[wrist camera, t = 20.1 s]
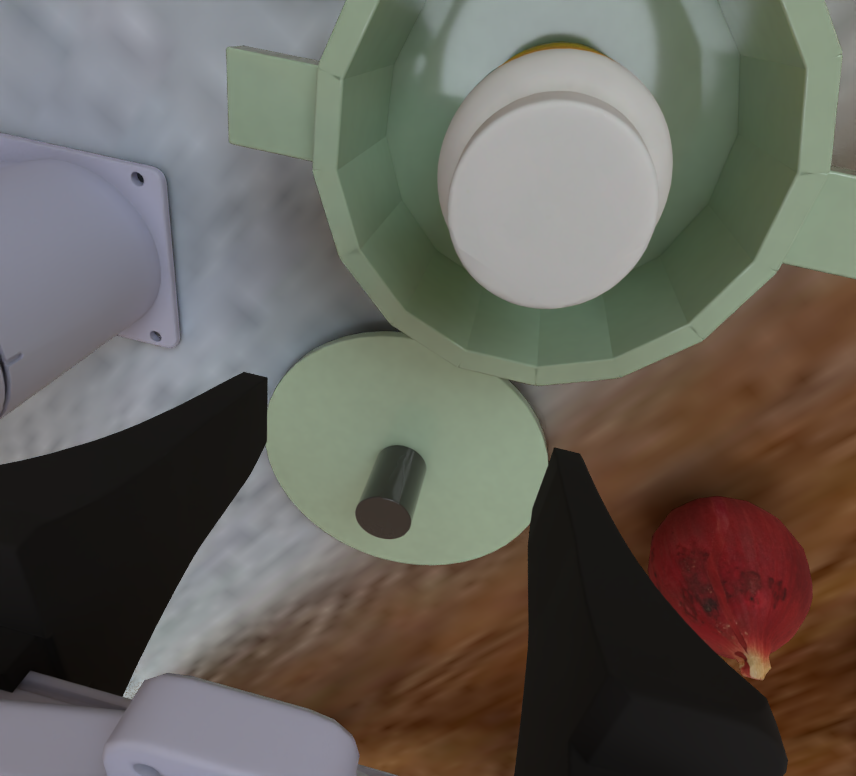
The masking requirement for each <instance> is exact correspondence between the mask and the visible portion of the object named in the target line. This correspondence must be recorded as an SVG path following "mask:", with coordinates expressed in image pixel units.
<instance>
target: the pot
mask: <svg viewBox="0 0 856 776" xmlns="http://www.w3.org/2000/svg"><path fill="white" fill-rule="evenodd" d="M558 41H564V42H574V43H579V44H583V45H587V46H590V47H592V48H594V49H596V50H598V51H600V52H601V53H603V54H605V55H606V56H608V57H609V58H611V59H612V60H614V61H616V62H617V63H619V64H621V65H622V66H623V67H625V68H626V69H628V70H629V71H630V72H632V73H633V74H634V75H635V76H636V77H637V78H638V79H639V80H640V81H641V82H642V83H643V84H644V85H645V86H646V87H647V89H648V90H649V91H650V92H651V94H652V95H653V97H654V98H655V100H656V102H657V103H658V105H659V107H660V109H661V111H662V113H663V115H664V118H665V121H666V123H667V127H668V130H669V134H670V139H671V144H672V154H673V169H672V180H671V186H670V190H669V194H668V198H667V202H666V204H665V207H664V210H663V212H662V215H661V217H660V219H659V221H658V223H657V225H656V226H655V229H654V232H653V234H652V237H651V239H650V241H649V244H648V246H647V248H646V250H645V252H644V253H643V255H642V257H641V258H640V260H639V261H638V262H637V264H636V265H635V266H634V267H633V269H632V270H631V271H630V272H629V273H628V274H627V275H626V276H625V277H624V278H623V279H622V280H621V281H620V282H619V283H617V284H616V285H615V286H614V287H612V288H611V289H610V290H608V291H606V292H605V293H603V294H601V295H599V296H598V297H596V298H594V299H591V300H589V301H587V302H584V303H581V304H578V305H574V306H569V307H564V308H557V309H535V308H528V307H524V306H520V305H516V304H513V303H510V302H508V301H506V300H503V299H501V298H499V297H498V296H496V295H494V294H492V293H491V292H489V291H488V290H486V289H485V288H484V287H483V286H481V285H480V284H479V283H478V282H477V281H476V280H475V279H474V278H473V277H472V276H471V275H470V274H469V272H468V271H467V270H466V268H465V267H464V266H463V264H462V262H461V261H460V259H459V257H458V255H457V253H456V251H455V248H454V246H453V243H452V240H451V237H450V232H449V229H448V227H447V224H446V222H445V219H444V216H443V214H442V210H441V206H440V202H439V195H438V184H437V172H438V162H439V156H440V150H441V147H442V143H443V140H444V137H445V134H446V132H447V129H448V127H449V125H450V122H451V120H452V118H453V116H454V115H455V113H456V111H457V110H458V108H459V107H460V105H461V104H462V102H463V101H464V99H465V98H466V97H467V95H468V94H469V93H470V92H471V91H472V90H473V89H474V87H475V86H476V85H477V84H478V83H479V82H480V81H481V80H482V79H483V78H484V77H485V76H487V75H488V74H489V73H490V72H491V71H492V70H494V69H496V68H497V67H499V66H501V65H502V64H503V63H505V62H506V61H508V60H509V59H510V58H512V57H513V56H515V55H516V54H518V53H520V52H522V51H524V50H526V49H528V48H530V47H533V46H536V45H539V44H543V43H548V42H558ZM842 57H843V56H842V49H841V46H840V43H839V40H838V37H837V35H836V32H835V29H834V26H833V23H832V20H831V17H830V15H829V12H828V9H827V6H826V3H825V0H346V1H345V4H344V6H343V8H342V11H341V13H340V15H339V18H338V20H337V22H336V24H335V27H334V29H333V31H332V34H331V36H330V38H329V41H328V43H327V45H326V48H325V50H324V52H323V55H322V57H321V59H320V61H317V60H312V59H307V58H302V57H297V56H293V55H288V54H283V53H278V52H273V51H268V50H263V49H258V48H253V47H249V46H244V45H243V46H233V47H227V49H226V60H227V95H228V130H229V143H230V144H233V145H238V146H243V147H247V148H252V149H256V150H261V151H266V152H270V153H275V154H279V155H284V156H289V157H293V158H298V159H303V160H307V161H312V162H313V164H312V168H313V171H312V172H313V176H314V179H315V182H316V185H317V188H318V192H319V195H320V198H321V201H322V204H323V208H324V211H325V214H326V217H327V220H328V223H329V227H330V230H331V233H332V236H333V239H334V243H335V246H336V249H337V252H338V255H339V257H340V260H341V261H342V262H343V264H344V265H345V266H346V267H347V269H348V270H349V271H350V273H351V274H352V275H353V277H354V278H355V279H356V281H357V282H358V283H359V284H360V286H361V287H362V288H363V290H364V291H365V292H366V294H367V295H368V296H369V297H370V299H371V300H372V301H373V303H374V304H375V305H376V307H377V308H378V309H379V311H380V312H381V313H382V314H383V316H384V317H385V318H386V320H387V321H388V322H389V324H391V325H392V326H394V327H395V328H397V329H398V330H400V331H401V332H403V333H404V334H406V335H408V336H409V337H411V338H412V339H414V340H415V341H417V342H418V343H420V344H421V345H423V346H425V347H426V348H428V349H429V350H431V351H432V352H434V353H435V354H437V355H439V356H440V357H442V358H443V359H445V360H446V361H448V362H449V363H451V364H453V365H454V366H456V367H459V368H462V369H466V370H470V371H474V372H479V373H483V374H487V375H491V376H496V377H500V378H504V379H508V380H512V381H517V382H521V383H525V384H529V385H536V386H544V385H554V384H564V383H575V382H585V381H595V380H605V379H616V378H619V377H620V378H621V377H623V376H625V375H628V374H630V373H632V372H634V371H637V370H639V369H641V368H643V367H646V366H648V365H650V364H652V363H655V362H657V361H659V360H661V359H664V358H666V357H668V356H670V355H673V354H675V353H677V352H679V351H681V350H684V349H686V348H688V347H690V346H693V345H695V344H697V343H699V342H702V340H704V339H705V338H707V337H708V336H709V335H710V334H711V333H712V332H713V331H714V330H715V329H716V328H717V327H718V326H720V325H721V324H722V323H723V322H724V321H725V320H726V319H727V318H728V317H729V316H730V315H732V314H733V313H734V312H735V311H736V310H737V309H738V308H739V307H740V306H741V305H742V304H743V303H745V302H746V301H747V300H748V299H749V298H750V297H751V296H752V295H753V294H754V293H755V292H756V291H758V290H759V289H760V288H761V287H762V286H763V285H764V284H765V283H766V282H767V281H768V280H770V279H771V278H772V277H773V276H774V275H775V274H776V271H778V270H779V268H780V267H781V265H782V263H783V264H787V265H792V266H796V267H801V268H806V269H810V270H815V271H820V272H824V273H829V274H833V275H838V276H843V277H847V278H852V279H856V171H854V170H849V169H844V168H840V167H835V166H831V160H832V150H833V141H834V132H835V122H836V113H837V104H838V95H839V85H840V76H841V67H842Z"/></svg>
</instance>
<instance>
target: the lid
mask: <svg viewBox="0 0 856 776" xmlns="http://www.w3.org/2000/svg"><path fill="white" fill-rule="evenodd" d="M266 450H267V454H268V458H269V461H270V464H271V467H272V469H273V472H274V474H275V476H276V478H277V480H278V482H279V484H280V485H281V487H282V489H283V490H284V491H285V493H286V494H287V496H288V497H289V499H290V500H291V501H292V502H293V503H294V504H295V506H296V507H297V508H298V509H299V510H300V511H301V512H302V513H303V514H304V515H305V516H306V517H307V518H308V519H309V520H310V521H311V522H313V523H314V524H315V525H317V526H318V527H319V528H320V529H322V530H323V531H324V532H326V533H327V534H329V535H331V536H332V537H334V538H335V539H337V540H339V541H340V542H342V543H344V544H346V545H348V546H350V547H352V548H354V549H357V550H359V551H362V552H364V553H367V554H369V555H372V556H376V557H379V558H382V559H386V560H390V561H395V562H400V563H407V564H415V565H445V564H453V563H459V562H465V561H469V560H472V559H476V558H479V557H482V556H484V555H487V554H489V553H492V552H494V551H496V550H498V549H499V548H501V547H503V546H505V545H506V544H508V543H509V542H510V541H512V540H513V539H514V538H516V537H517V536H518V535H519V534H520V533H521V532H522V531H523V530H524V529H525V528H526V527H527V526H528V525H529V524H530V522H531V515H532V508H533V505H534V502H535V499H536V497H537V494H538V491H539V489H540V486H541V483H542V480H543V478H544V475H545V472H546V469H547V467H548V464H549V460H548V449H547V444H546V440H545V436H544V433H543V430H542V428H541V426H540V423H539V421H538V418H537V416H536V415H535V413H534V411H533V410H532V408H531V406H530V405H529V403H528V402H527V400H526V399H525V398H524V397H523V395H522V394H521V393H520V392H519V391H518V389H517V388H516V387H515V386H514V385H513V384H512V383H511V382H510V381H509V380H508V379H504V378H500V377H496V376H491V375H487V374H483V373H479V372H474V371H470V370H466V369H462V368H459V367H456V366H454V365H453V364H451V363H449V362H448V361H446V360H445V359H443V358H442V357H440V356H439V355H437V354H435V353H434V352H432V351H431V350H429V349H428V348H426V347H425V346H423V345H421V344H420V343H418V342H417V341H415V340H414V339H412V338H411V337H409V336H408V335H406V334H404V333H403V332H392V331H378V332H364V333H359V334H354V335H349V336H344V337H341V338H339V339H336V340H333V341H330V342H327V343H325V344H323V345H321V346H319V347H317V348H316V349H314V350H312V351H310V352H309V353H308V354H306V355H305V356H304V357H302V358H301V359H299V360H298V361H297V362H296V363H295V364H294V365H293V366H292V367H291V368H290V369H289V370H288V371H287V373H286V374H285V375H284V377H283V378H282V380H281V381H280V383H279V384H278V386H277V387H276V388H275V391H274V393H273V395H272V397H271V399H270V402H269V405H268V409H267V443H266Z"/></svg>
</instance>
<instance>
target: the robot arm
mask: <svg viewBox="0 0 856 776" xmlns="http://www.w3.org/2000/svg"><path fill="white" fill-rule="evenodd" d="M137 172H138V173H140V174H141V175H142V177H143V179H144V183H142V182H140V180H139V179H138V177H137ZM155 331H156V332H158V333H159V334H160V336H161V337H159V336H158V335H157V334H156V333H155ZM116 335H117V336H121V337H125V338H129V339H133V340H137V341H141V342H145V343H150V344H154V345H158V346H162V347H166V348H173V347H175V346H176V345H177V344H178V343H179V342H180V326H179V315H178V304H177V292H176V281H175V270H174V258H173V247H172V236H171V224H170V213H169V201H168V190H167V181H166V177H165V176H164V174H163V172H161V171H160V170H159V169H158V168H156V167H153V166H149V165H144V164H140V163H135V162H131V161H126V160H122V159H117V158H113V157H108V156H104V155H99V154H95V153H90V152H86V151H81V150H77V149H72V148H67V147H63V146H58V145H54V144H49V143H45V142H40V141H36V140H31V139H27V138H22V137H18V136H13V135H9V134H4V133H0V419H1V418H3V417H4V416H6V415H7V414H8V413H10V412H11V411H13V410H14V409H15V408H17V407H18V406H19V405H21V404H22V403H24V402H25V401H26V400H28V399H29V398H30V397H32V396H33V395H35V394H36V393H37V392H39V391H40V390H41V389H43V388H44V387H46V386H47V385H48V384H50V383H51V382H53V381H54V380H55V379H57V378H58V377H59V376H61V375H62V374H64V373H65V372H66V371H68V370H69V369H70V368H72V367H73V366H75V365H76V364H77V363H79V362H80V361H81V360H83V359H84V358H86V357H87V356H88V355H90V354H91V353H93V352H94V351H95V350H97V349H98V348H99V347H101V346H102V345H104V344H105V343H106V342H108V341H109V340H110V339H112V338H113V337H115V336H116ZM266 443H267V377H263V376H259V375H254V374H250V373H246V372H243V373H241V374H239V375H237V376H235V377H233V378H231V379H229V380H227V381H225V382H223V383H221V384H220V385H218V386H216V387H214V388H212V389H210V390H208V391H206V392H205V393H203V394H201V395H199V396H197V397H195V398H193V399H191V400H189V401H187V402H185V403H183V404H181V405H179V406H177V407H175V408H173V409H171V410H169V411H166V412H164V413H162V414H160V415H158V416H155V417H153V418H151V419H149V420H147V421H144V422H142V423H140V424H138V425H135V426H133V427H130V428H128V429H125V430H123V431H120V432H117V433H115V434H112V435H109V436H106V437H103V438H101V439H98V440H95V441H92V442H89V443H85V444H82V445H78V446H75V447H71V448H68V449H65V450H61V451H58V452H54V453H51V454H47V455H43V456H39V457H35V458H30V459H26V460H22V461H17V462H12V463H7V464H2V465H0V776H397V775H394V774H390V773H387V772H383V771H380V770H376V769H373V768H369V767H366V766H362V765H359V764H358V761H359V752H358V749H357V746H356V743H355V740H354V738H353V736H352V734H350V733H349V732H348V731H347V730H346V729H345V728H344V727H342V726H341V725H340V724H339V723H338V722H337V721H335V720H334V719H331V718H329V717H327V716H324V715H322V714H320V713H317V712H315V711H313V710H311V709H307V708H303V707H300V706H296V705H293V704H289V703H286V702H282V701H279V700H275V699H271V698H268V697H264V696H261V695H257V694H254V693H250V692H247V691H243V690H239V689H236V688H232V687H229V686H225V685H222V684H218V683H214V682H211V681H207V680H204V679H200V678H197V677H193V676H187V675H180V674H172V673H166V674H163V675H160V676H157V677H154V678H150V679H147V680H144V682H143V683H142V685H141V687H140V688H139V690H138V692H137V693H136V695H135V696H134V698H133V700H131V699H128V698H124V697H122V696H123V694H124V692H125V690H126V688H127V686H128V683H129V681H130V679H131V677H132V675H133V672H134V670H135V668H136V666H137V664H138V662H139V660H140V658H141V656H142V654H143V652H144V650H145V648H146V646H147V644H148V642H149V640H150V638H151V636H152V634H153V631H154V629H155V627H156V625H157V624H158V622H159V620H160V618H161V616H162V614H163V612H164V610H165V608H166V606H167V604H168V603H169V601H170V599H171V597H172V595H173V593H174V591H175V589H176V587H177V586H178V584H179V582H180V580H181V578H182V577H183V575H184V573H185V571H186V569H187V568H188V566H189V564H190V562H191V560H192V559H193V557H194V555H195V554H196V552H197V551H198V549H199V548H200V546H201V544H202V543H203V541H204V540H205V539H206V537H207V536H208V534H209V533H210V531H211V530H212V529H213V527H214V526H215V524H216V523H217V522H218V520H219V519H220V517H221V516H222V514H223V513H224V512H225V510H226V509H227V507H228V506H229V504H230V503H231V502H232V500H233V499H234V497H235V496H236V494H237V493H238V492H239V490H240V489H241V487H242V486H243V484H244V483H245V481H246V480H247V479H248V477H249V476H250V474H251V472H252V470H253V468H254V466H255V465H256V463H257V461H258V459H259V457H260V455H261V453H262V451H263V449H264V447H265V445H266ZM528 613H529V634H528V653H527V664H526V674H525V685H524V695H523V704H522V714H521V723H520V732H519V740H518V749H517V757H516V765H515V774H514V776H783V775H784V774H785V773H786V770H787V762H788V759H787V756H786V753H785V750H784V747H783V743H782V740H781V736H780V733H779V730H778V727H777V724H776V721H775V719H774V716H773V714H772V711H771V709H770V706H769V704H768V701H767V699H766V697H764V696H763V695H762V694H761V693H760V692H759V691H758V690H756V689H755V688H754V687H753V686H752V685H751V684H750V683H748V682H747V681H746V680H745V679H744V678H743V677H742V676H741V675H739V674H738V673H737V672H736V671H735V670H734V669H733V668H731V667H730V666H729V665H728V664H727V663H726V662H725V661H724V660H723V659H722V658H721V657H720V656H719V655H718V654H717V653H716V652H715V651H714V650H713V649H712V648H711V647H709V646H708V645H707V644H706V643H705V642H704V641H703V640H702V639H701V638H700V637H699V635H698V634H697V633H696V632H695V631H694V630H693V629H692V628H691V627H690V626H689V625H688V624H687V623H686V622H685V621H684V619H683V618H682V617H681V616H680V615H679V614H678V612H677V611H676V610H675V609H674V608H673V607H672V605H671V604H670V603H669V602H668V601H667V600H666V599H665V597H664V596H663V595H662V594H661V592H660V591H659V590H658V589H657V587H656V586H655V585H654V583H653V582H652V581H651V579H650V578H649V577H648V575H647V574H646V573H645V571H644V570H643V568H642V567H641V566H640V564H639V563H638V562H637V560H636V558H635V557H634V555H633V554H632V552H631V551H630V549H629V547H628V546H627V544H626V543H625V541H624V539H623V538H622V536H621V534H620V533H619V531H618V529H617V527H616V526H615V524H614V522H613V520H612V518H611V516H610V515H609V513H608V511H607V509H606V507H605V505H604V503H603V501H602V499H601V497H600V495H599V493H598V491H597V489H596V487H595V485H594V483H593V480H592V478H591V476H590V474H589V472H588V469H587V467H586V465H585V463H584V460H583V458H582V457H581V455H580V454H579V453H575V452H571V451H567V450H563V449H559V448H554V450H553V453H552V456H551V458H550V461H549V464H548V467H547V469H546V472H545V475H544V478H543V480H542V483H541V486H540V489H539V491H538V494H537V497H536V499H535V502H534V505H533V508H532V515H531V523H530V531H529V540H528Z"/></svg>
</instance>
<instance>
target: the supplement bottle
mask: <svg viewBox="0 0 856 776" xmlns="http://www.w3.org/2000/svg"><path fill="white" fill-rule="evenodd" d="M672 169H673V154H672V144H671V139H670V134H669V130H668V127H667V123H666V121H665V118H664V115H663V113H662V111H661V109H660V107H659V105H658V103H657V102H656V100H655V98H654V97H653V95H652V94H651V92H650V91H649V90H648V89H647V87H646V86H645V85H644V84H643V83H642V82H641V81H640V80H639V79H638V78H637V77H636V76H635V75H634V74H633V73H632V72H630V71H629V70H628V69H626V68H625V67H623V66H622V65H621V64H619V63H617V62H616V61H614V60H612V59H611V58H609V57H608V56H606V55H605V54H603V53H601V52H600V51H598V50H596V49H594V48H592V47H590V46H587V45H583V44H579V43H574V42H564V41H558V42H548V43H543V44H539V45H536V46H533V47H530V48H528V49H526V50H524V51H522V52H520V53H518V54H516V55H515V56H513V57H512V58H510V59H509V60H508V61H506V62H505V63H503V64H502V65H501V66H499V67H497V68H496V69H494V70H492V71H491V72H490V73H489V74H488V75H487V76H485V77H484V78H483V79H482V80H481V81H480V82H479V83H478V84H477V85H476V86H475V87H474V89H473V90H472V91H471V92H470V93H469V94H468V95H467V97H466V98H465V99H464V101H463V102H462V104H461V105H460V107H459V108H458V110H457V111H456V113H455V115H454V116H453V118H452V120H451V122H450V125H449V127H448V129H447V132H446V134H445V137H444V140H443V143H442V147H441V150H440V156H439V162H438V172H437V184H438V195H439V202H440V206H441V210H442V214H443V216H444V219H445V222H446V224H447V227H448V229H449V232H450V237H451V240H452V243H453V246H454V248H455V251H456V253H457V255H458V257H459V259H460V261H461V262H462V264H463V266H464V267H465V268H466V270H467V271H468V272H469V274H470V275H471V276H472V277H473V278H474V279H475V280H476V281H477V282H478V283H479V284H480V285H481V286H483V287H484V288H485V289H486V290H488V291H489V292H491V293H492V294H494V295H496V296H498V297H499V298H501V299H503V300H506V301H508V302H510V303H513V304H516V305H520V306H524V307H528V308H535V309H557V308H564V307H569V306H574V305H578V304H581V303H584V302H587V301H589V300H591V299H594V298H596V297H598V296H599V295H601V294H603V293H605V292H606V291H608V290H610V289H611V288H612V287H614V286H615V285H616V284H617V283H619V282H620V281H621V280H622V279H623V278H624V277H625V276H626V275H627V274H628V273H629V272H630V271H631V270H632V269H633V267H634V266H635V265H636V264H637V262H638V261H639V260H640V258H641V257H642V255H643V253H644V252H645V250H646V248H647V246H648V244H649V241H650V239H651V237H652V234H653V232H654V229H655V226H656V225H657V223H658V221H659V219H660V217H661V215H662V212H663V210H664V207H665V204H666V202H667V198H668V194H669V190H670V186H671V180H672Z"/></svg>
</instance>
